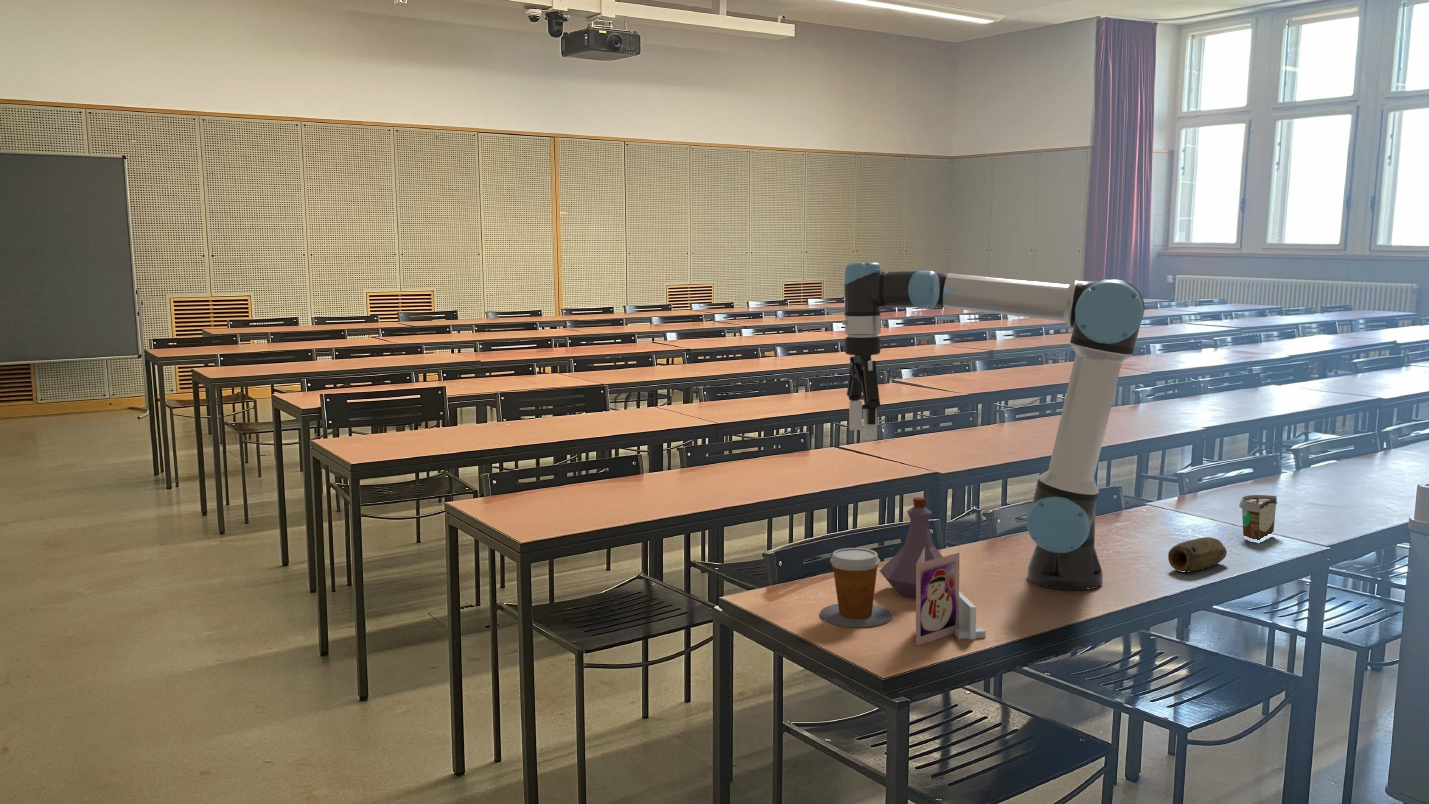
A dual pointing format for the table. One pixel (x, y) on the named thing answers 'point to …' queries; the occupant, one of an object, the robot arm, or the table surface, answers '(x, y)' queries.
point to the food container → (1258, 515)
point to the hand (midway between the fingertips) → (862, 434)
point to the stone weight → (1196, 554)
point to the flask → (911, 552)
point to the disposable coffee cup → (855, 581)
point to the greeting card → (936, 597)
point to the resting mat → (876, 619)
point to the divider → (968, 620)
